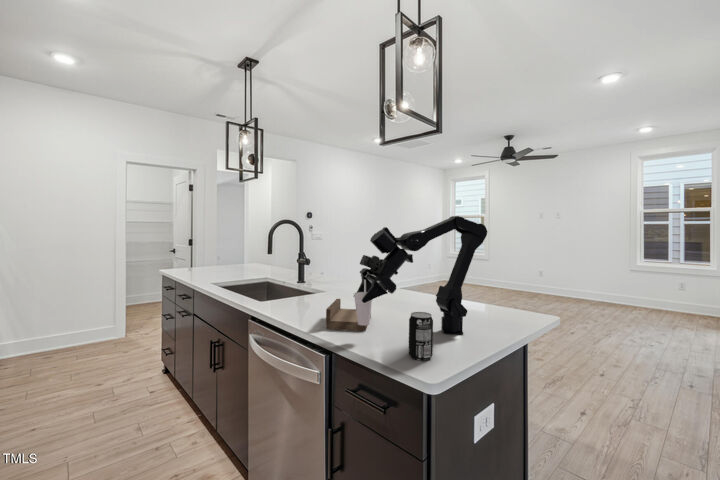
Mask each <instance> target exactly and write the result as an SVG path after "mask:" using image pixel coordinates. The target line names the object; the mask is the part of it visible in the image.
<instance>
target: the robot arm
mask: <svg viewBox="0 0 720 480" xmlns="http://www.w3.org/2000/svg"><path fill="white" fill-rule="evenodd" d="M454 230H455V231H456V232H457V233H459V234H460V242H461V246H460V248H459V249H460V250H459V251H458V254H457V257H456V260H455V262H454V265H453V267H452V270H451V273H450V275H449V277H448V281H447V282H446V284H444V286H443V285H439V287H438V290H437V293H436V294H435V297H436V298H435V302H436V304H437V306H438V307H439V310H440V312H441V313H443V314H442V315H443V316H441V319H440V320H441V322H440V323H441V330H442V333H444V334H447V335H448V334H449V335H450V334H451V335H464V332H463V324H464V323H463V322H464V319H463V318H464V317H465V318H466V317H467V314H468V309H467V308H466V307H465V306H464V304H462V301H463V292H462V291H463V290H462V288H463V284H464V281H465V279H466V277H467V273H468V271H469V268H470V267H471V266H470V265H471V263H472V260H473V258H474V255H475V252H476V250H477V249H478V248H479V247H480V246H481V245H482V244H483V243H484V241H485V239H486V237H487V236H488V229H487V227H486V225H484V224H483V223H477V222H475V221H472V220H469V219H466V218H464V217H463V216H460V215H454V216H452V215H451V216H450V217H449V218H447V219H444V220H442V221H440V222H438V223H435V224H433V225H431V226H428V227H426V228H424V229H420V230H415V231H409V232H405V233H403V234H402V235H401V236H400V237H395V235H393V233H392V232H391V230H390V229H389V228H388V227H385V226H383V228H381V229H380V230H378V231H377V232H376V233H374V234H373V235H372V236H371V238H370V243H372V245H373V246H374V247H375V248H376V249H377V250H378V252H380V253H381V254H386V255H385V256H384V258H383V259H382V258H380V257H379V256H377V255H372V256H369V255H366V254H363V255H362V256H361V259H360V261H359V265H361V266H365V267H363V268H362V269H360V271H359V274H360V277H361V282H360V285H359V287H358V289H357V291H356V292H364V280H366V292H367V293H366V295H365V296H364V297H363V299H362V302H363V303H365V302H368V301H370V300H372V301H373V300H374V299H377V298H379V297H382V296H384V295H388V293H389V294H391V295H392V294H394V293H395V292H396V290H397V284H396V283H395V281H393V280H392V279H391V278H392V277H393V276H394V275H395V276H397V275H398V273H399V271H398V270H399V269H400V268H401V267H402V266H403V265H404V264H405V262H407V263H410V264H412V263H414V258H413V256H414V255H413V254H411V253H408V251H409V252H410V251H411V252H418V251H420V250H421V249H422V248H423V247H425V246H426V245H427V244H429V242H431V241H433V240H434V239H437V238H438V237H441V236H443V235H445V234H448V233H450V232H452V231H454ZM399 246H400V247H399Z"/></svg>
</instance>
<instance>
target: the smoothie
mask: <svg viewBox="0 0 720 480" xmlns="http://www.w3.org/2000/svg"><path fill="white" fill-rule="evenodd" d="M366 293H367V292H366V280H364V292H357V291H356V292H354V293H353V296H352V297H353V298H354V304H355V305H354V306H355V309H356V313H357V321H358V325H368V326H369V325H370V323H371V319H370V316H371V317H372V308H373V307H372V306H373V299H372V300H370V301H368V302H365V303H363V302H362V299H363V297H364V296H365V295H366Z"/></svg>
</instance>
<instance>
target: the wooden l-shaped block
mask: <svg viewBox="0 0 720 480" xmlns="http://www.w3.org/2000/svg"><path fill="white" fill-rule="evenodd" d="M371 319H372V315H371V316H370V320H371ZM368 326H369V325H358V321H357V313H356V308H341V298H336V299H334V300H333V302H332V303H330V305H329V306H328V307H326V309H325V330H335V331H336V330H338V331H356V332H366V331H367V329H368Z"/></svg>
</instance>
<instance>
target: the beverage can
mask: <svg viewBox="0 0 720 480" xmlns="http://www.w3.org/2000/svg"><path fill="white" fill-rule="evenodd" d="M433 337H434V319H433V318H432V314H431V313H429V312H426V311H414V312H413V311H412V312H411V313H410V317H409V318H408V355H409V356H410V358H411V359H413V360H416V361H428V360H430V359H431V358H432V356H433V350H434V349H433V348H434V347H433V345H434V343H433V340H434V339H433Z"/></svg>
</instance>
